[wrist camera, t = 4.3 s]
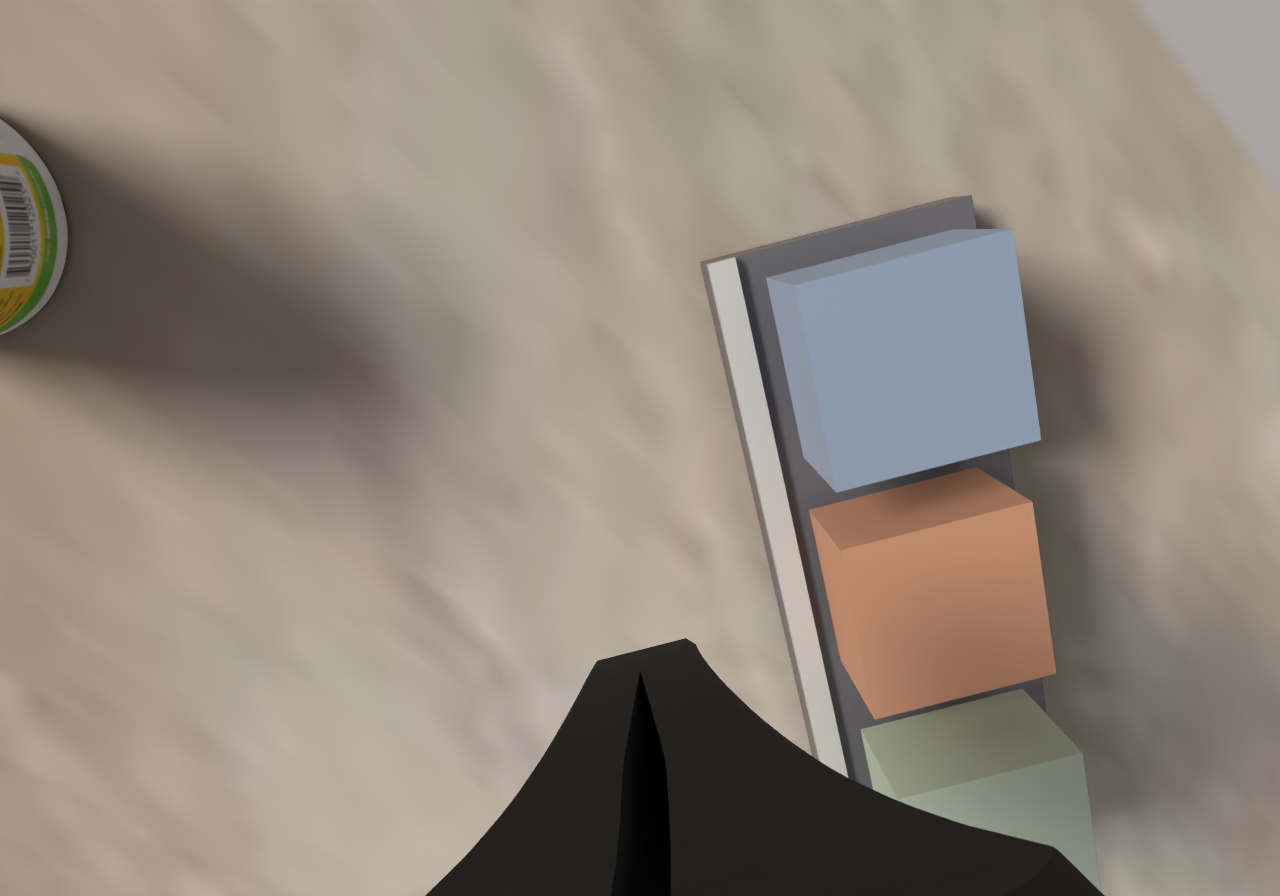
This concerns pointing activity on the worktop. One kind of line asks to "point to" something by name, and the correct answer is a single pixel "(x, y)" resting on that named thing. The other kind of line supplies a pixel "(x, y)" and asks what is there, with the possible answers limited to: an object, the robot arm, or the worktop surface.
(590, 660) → the worktop surface
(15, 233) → the supplement bottle
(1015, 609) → the terracotta key
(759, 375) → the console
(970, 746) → the sage key
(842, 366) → the light blue square block
